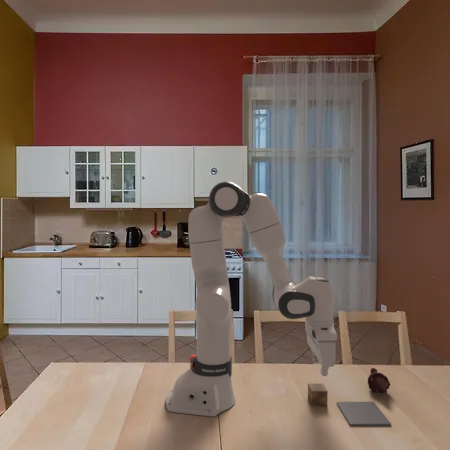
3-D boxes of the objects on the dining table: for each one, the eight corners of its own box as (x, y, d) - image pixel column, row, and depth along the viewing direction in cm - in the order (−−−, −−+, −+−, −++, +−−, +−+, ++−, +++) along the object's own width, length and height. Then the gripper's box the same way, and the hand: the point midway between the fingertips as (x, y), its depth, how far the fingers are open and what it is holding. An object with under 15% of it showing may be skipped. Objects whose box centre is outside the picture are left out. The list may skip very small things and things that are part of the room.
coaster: (350, 425, 103) (350, 423, 103) (336, 403, 115) (336, 401, 115) (391, 425, 103) (391, 423, 103) (373, 403, 115) (373, 401, 115)
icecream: (400, 384, 115) (383, 368, 130) (377, 377, 116) (363, 362, 131) (395, 405, 115) (379, 387, 130) (372, 398, 115) (358, 380, 130)
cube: (311, 406, 114) (312, 391, 113) (307, 398, 119) (308, 383, 118) (327, 406, 114) (327, 391, 113) (322, 398, 119) (323, 383, 118)
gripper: (302, 317, 126) (302, 355, 126) (318, 337, 105) (318, 383, 106) (320, 316, 126) (320, 355, 126) (339, 337, 105) (339, 383, 106)
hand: (319, 368), depth 116 cm, fingers open, 8 cm apart
